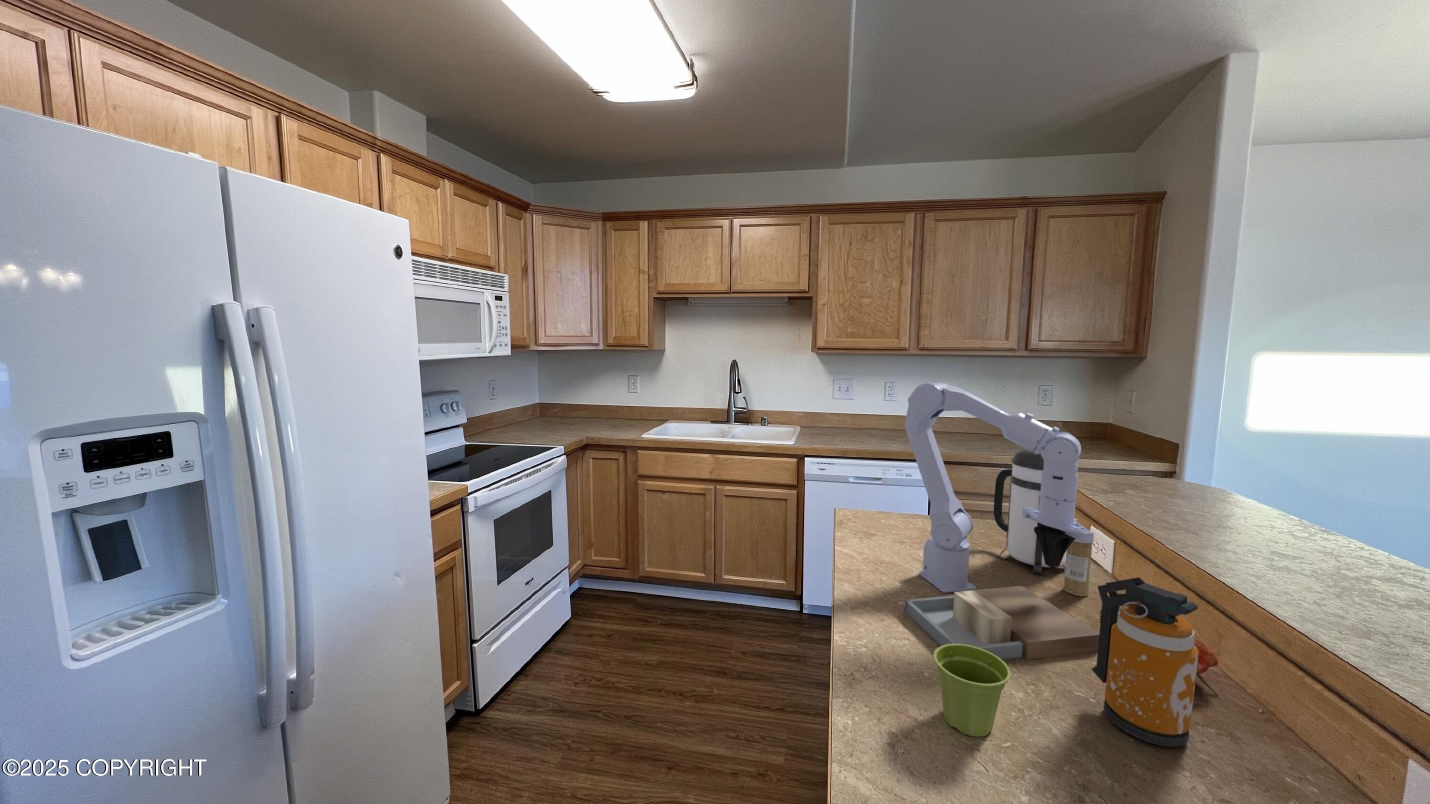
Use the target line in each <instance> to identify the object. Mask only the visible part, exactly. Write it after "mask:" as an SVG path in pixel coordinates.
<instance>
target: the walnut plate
mask: <svg viewBox="0 0 1430 804" xmlns="http://www.w3.org/2000/svg"><path fill="white" fill-rule="evenodd" d="M969 591H975V592H976V593H978V594H979V595H980V596H982V597H983V598H985V599H986V600H988V601H989V602H990V603H992V604H993V605H995V606H996V607H997V608H999V609H1000V610H1002V611H1003V612H1005V613H1006V614H1007V615H1009V616H1010V617H1012V623H1011V637H1010V642H1017V641H1020V642H1021V643H1022V644H1023V649H1022V658H1025V660H1034V659H1035V660H1036V659H1042V658H1043V659H1045V658H1051V657H1059V656H1068V655H1076V654H1077V655H1078V654H1087V653H1093V652H1094V653H1096V652H1098V643H1099V632H1098V631H1097V630H1095V629H1093V628H1091V627H1090V626H1089V625H1086V624H1085V623H1083V622H1081V621H1080V620H1079V619H1076V618H1075V617H1073V616H1072V615H1070V614H1068V613H1067V612H1065V611H1063V610H1062V609H1060V608H1058V606H1055V605H1053V604H1052V603H1051V602H1050V601H1047V600H1045V599H1044V598H1042V597H1041V596H1039V595H1037V594H1036V593H1034V592H1032V591H1030V590H1029V589H1027V588H1026V587H1024V586H1023V585H1018V586H1017V585H1015V586H1014V585H1013V586H1003V587H993V588H983V589H981V588H979V589H976V590H969ZM958 592H961V591H958Z"/></svg>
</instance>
